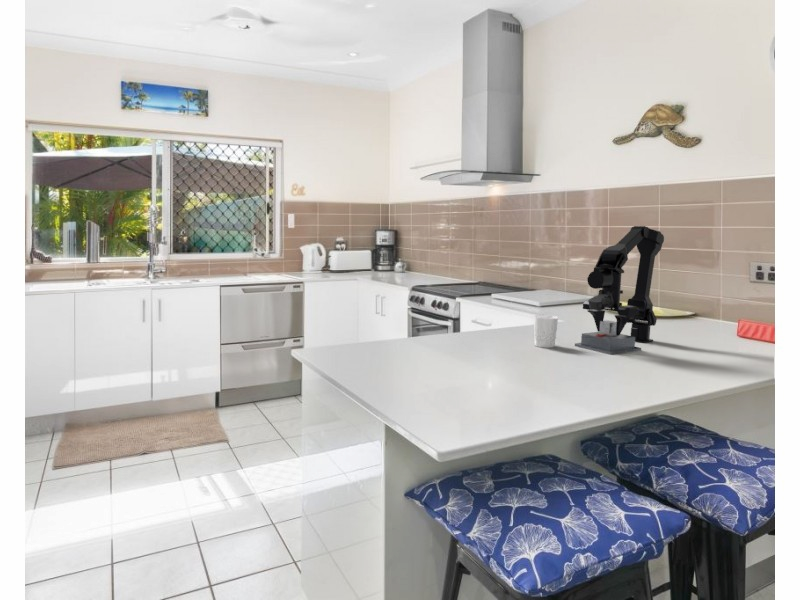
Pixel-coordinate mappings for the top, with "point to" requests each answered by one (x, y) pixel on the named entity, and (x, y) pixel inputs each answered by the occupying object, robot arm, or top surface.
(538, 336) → the white cup
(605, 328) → the column
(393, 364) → the top surface
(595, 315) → the robot arm
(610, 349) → the housing
